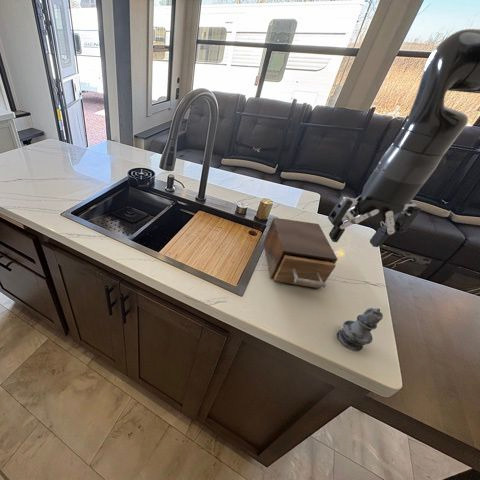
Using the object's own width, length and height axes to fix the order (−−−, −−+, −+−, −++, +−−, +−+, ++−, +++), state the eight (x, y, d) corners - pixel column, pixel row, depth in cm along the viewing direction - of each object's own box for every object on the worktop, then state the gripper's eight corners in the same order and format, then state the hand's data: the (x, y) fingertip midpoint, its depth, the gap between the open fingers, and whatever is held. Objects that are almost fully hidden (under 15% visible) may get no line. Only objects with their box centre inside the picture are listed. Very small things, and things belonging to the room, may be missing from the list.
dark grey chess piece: (363, 357, 56) (398, 326, 49) (334, 342, 58) (362, 311, 51) (364, 337, 60) (396, 305, 52) (336, 324, 62) (363, 292, 55)
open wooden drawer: (326, 302, 66) (343, 279, 61) (277, 294, 68) (289, 270, 62) (306, 252, 82) (318, 231, 77) (266, 246, 84) (275, 224, 78)
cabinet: (319, 286, 72) (337, 259, 65) (270, 278, 74) (283, 250, 67) (304, 249, 85) (318, 223, 78) (263, 243, 87) (273, 217, 80)
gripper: (369, 178, 43) (326, 249, 54) (458, 186, 42) (397, 257, 53) (349, 161, 49) (313, 228, 59) (428, 168, 48) (377, 235, 58)
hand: (353, 242), depth 56 cm, fingers open, 8 cm apart
